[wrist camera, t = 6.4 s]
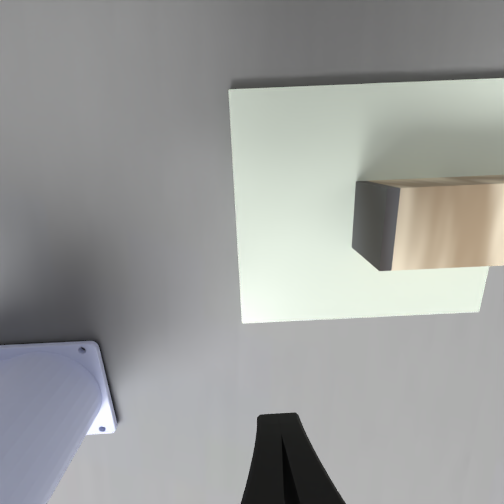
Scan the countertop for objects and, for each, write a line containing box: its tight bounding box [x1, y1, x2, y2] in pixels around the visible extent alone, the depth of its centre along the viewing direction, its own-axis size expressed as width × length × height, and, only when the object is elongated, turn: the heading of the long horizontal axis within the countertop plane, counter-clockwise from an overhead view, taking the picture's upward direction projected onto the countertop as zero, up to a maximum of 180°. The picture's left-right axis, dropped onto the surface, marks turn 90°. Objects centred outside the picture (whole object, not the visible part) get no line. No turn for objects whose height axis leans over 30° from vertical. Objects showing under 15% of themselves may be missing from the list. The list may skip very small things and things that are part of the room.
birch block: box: [352, 175, 504, 271], centre depth 16 cm, size 4×4×10 cm
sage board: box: [228, 78, 504, 323], centre depth 18 cm, size 16×14×1 cm
